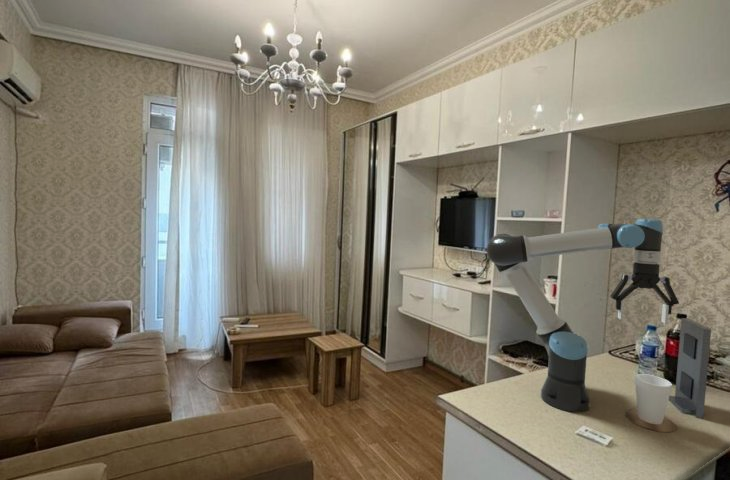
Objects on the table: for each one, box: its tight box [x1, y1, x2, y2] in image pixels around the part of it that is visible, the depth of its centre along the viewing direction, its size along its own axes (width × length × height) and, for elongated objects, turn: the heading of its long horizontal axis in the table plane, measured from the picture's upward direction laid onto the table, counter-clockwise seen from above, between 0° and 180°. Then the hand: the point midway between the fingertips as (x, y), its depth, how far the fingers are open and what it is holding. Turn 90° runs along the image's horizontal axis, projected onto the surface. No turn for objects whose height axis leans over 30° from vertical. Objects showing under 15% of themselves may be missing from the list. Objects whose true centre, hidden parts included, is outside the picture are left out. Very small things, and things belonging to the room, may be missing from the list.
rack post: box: [668, 317, 712, 419], centre depth 130 cm, size 5×14×30 cm, turn 163°
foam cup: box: [634, 373, 673, 424], centre depth 121 cm, size 10×9×13 cm
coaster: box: [625, 408, 677, 433], centre depth 121 cm, size 13×13×1 cm
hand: (641, 321), depth 135 cm, fingers open, 13 cm apart
